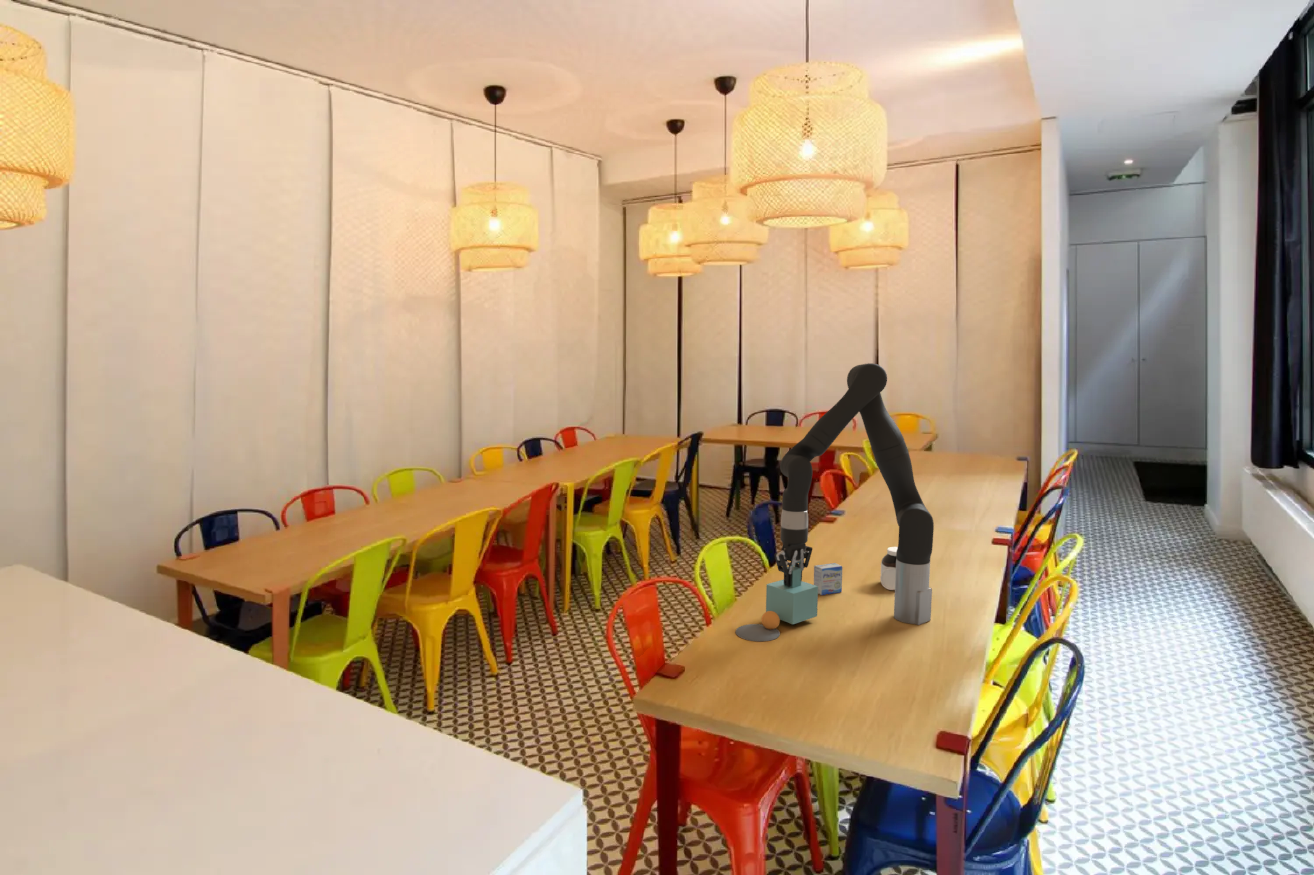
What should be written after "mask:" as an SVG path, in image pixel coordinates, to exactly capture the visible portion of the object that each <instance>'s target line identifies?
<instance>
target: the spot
mask: <svg viewBox="0 0 1314 875" xmlns="http://www.w3.org/2000/svg"><path fill="white" fill-rule="evenodd" d="M735 634H736V636H737V637H739V638H741V639H744V640H745V641H751V642H771V641H773V640H776V639H778V638H779V637H780V634H781V632H780V630H779V629H777V627H776V628H775V629H771V630H770V629H767V628H765V627H764V626H763V624H762V623H761V624H760V623H749V624H744V625H741V626H738V627H737V628H736V629H735Z"/></svg>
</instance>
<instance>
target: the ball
mask: <svg viewBox="0 0 1314 875" xmlns="http://www.w3.org/2000/svg"><path fill="white" fill-rule="evenodd" d="M780 622H781V620H780V619H779V616H778V614H777V613H775V612H773V611H767V612H766V611H765V612H764V613H763V614H762V616H761V624H762V625H763V626H764V627H765V628H767V629H770V630H771V629H775V628H776V629H777V627H779V625H780Z"/></svg>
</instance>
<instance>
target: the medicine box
mask: <svg viewBox="0 0 1314 875" xmlns="http://www.w3.org/2000/svg"><path fill="white" fill-rule="evenodd" d="M813 585H816V586H818V595H820V596H827V595H826V594H828V595H833V594H840V592H841V593H842V592H843V591H842V590H843V566H842V565H840V564H838V563H837V562H834V563H825V564H816V565H813Z"/></svg>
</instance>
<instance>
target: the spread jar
mask: <svg viewBox="0 0 1314 875" xmlns="http://www.w3.org/2000/svg"><path fill="white" fill-rule="evenodd" d="M897 549H898V546H891V547H890V546H889V547H887V549H886V551H887V553H886V554H885V555H884V556H883V557H882V559H881V563H880V576H879V577H880V579H879V580H880V584H881V585H882V587H884V588H885V589H886V590H889V591H895V576H896V552H897Z"/></svg>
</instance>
